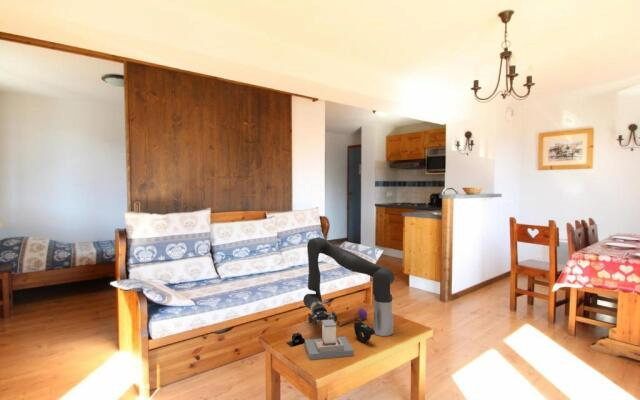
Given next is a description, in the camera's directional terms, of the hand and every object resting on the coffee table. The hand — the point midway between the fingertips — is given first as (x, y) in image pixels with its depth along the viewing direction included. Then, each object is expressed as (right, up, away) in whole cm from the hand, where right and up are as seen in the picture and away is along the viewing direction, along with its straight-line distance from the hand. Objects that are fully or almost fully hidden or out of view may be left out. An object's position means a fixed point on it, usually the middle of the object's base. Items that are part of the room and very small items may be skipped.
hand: (325, 322), depth 162 cm
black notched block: (-14, -11, +2) cm, 18 cm away
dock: (+1, -10, -6) cm, 12 cm away
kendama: (+16, -10, +27) cm, 33 cm away
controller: (+19, -10, +3) cm, 22 cm away
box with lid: (+1, -8, -7) cm, 11 cm away
